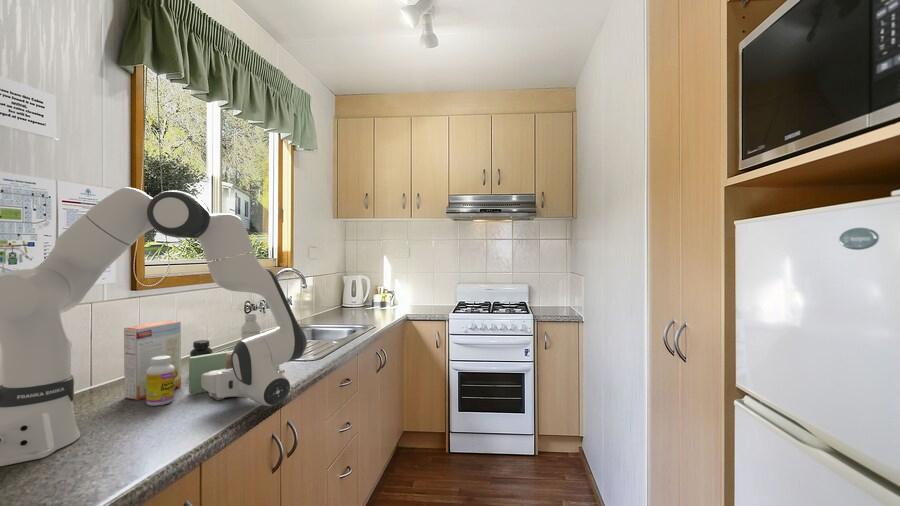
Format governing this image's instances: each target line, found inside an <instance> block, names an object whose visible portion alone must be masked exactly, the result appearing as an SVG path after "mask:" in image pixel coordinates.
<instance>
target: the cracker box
mask: <svg viewBox="0 0 900 506" xmlns="http://www.w3.org/2000/svg"><path fill="white" fill-rule="evenodd" d="M181 324H182V323H181V321H178V320H177V321H176V320H175V321H174V320H165V321H160V322H152V323H145V324H140V325H134V326H129V327H124V328H123V359H124V360H123V361H124V362H123V363H124V366H123V367H124V370H123V371H124V372H123V374H124V386H123V387H124V399H130V400H137V401H138V400H141V399H142V400H143V399H145V398H146V384H147V370H148V368H150V367H151V366H152V364H151V358H153V357H157V356H171V361H170V364H171V365H173V366H174V368H175V377H174V389H176V387H177V388H179V387H181V386H182V355H181V354H182V347H181V346H182V345H181V344H182V343H181V341H182V339H181V338H182V337H181V336H182V332H181V330H182V329H181V327H182V325H181Z"/></svg>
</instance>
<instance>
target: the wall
mask: <svg viewBox="0 0 900 506" xmlns="http://www.w3.org/2000/svg"><path fill="white" fill-rule="evenodd" d="M231 352H233V350H227V351H221V352H220V351H219V352H215V353H213V352H212V354H207V355H200V356H194V357H190V356H189V357H188V394H189V393H190V394H193V395H197V394H196V393H198V394H203V393H207V392H208V391H206V390H205V389H203V388H202V387H201V375H202V374H204V373H208V372H209V371H215V370H220V369H225V368H226V354H227V353H231ZM202 392H203V393H202ZM190 394H189V395H190Z"/></svg>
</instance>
